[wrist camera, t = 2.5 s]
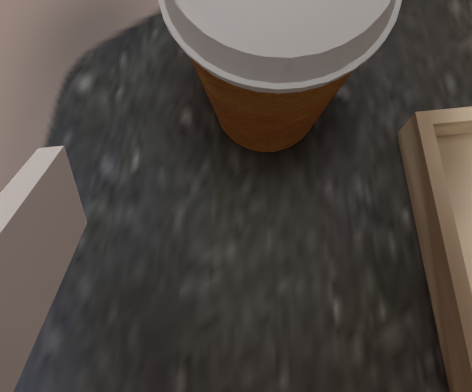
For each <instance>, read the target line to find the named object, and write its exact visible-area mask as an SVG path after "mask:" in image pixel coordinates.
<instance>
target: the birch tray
mask: <svg viewBox="0 0 472 392" xmlns="http://www.w3.org/2000/svg"><path fill="white" fill-rule="evenodd" d="M397 137H398V142H399V147H400V151H401V156H402V161H403V166H404V171H405V176H406V181H407V186H408V191H409V196H410V201H411V206H412V210H413V215H414V220H415V225H416V230H417V235H418V240H419V245H420V250H421V255H422V260H423V265H424V269H425V274H426V279H427V284H428V289H429V294H430V299H431V304H432V309H433V314H434V319H435V324H436V329H437V333H438V338H439V343H440V348H441V353H442V358H443V363H444V368H445V373H446V378H447V383H448V388H449V392H472V107H462V108H451V109H441V110H430V111H419V112H415V113H414V114H413V115H412V116H411V118H410V119H409V120H408V121H407V122H406V124H405V125H404V126H403V127H402V128H401V129H400V131H399V132H398V133H397Z"/></svg>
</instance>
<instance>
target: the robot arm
mask: <svg viewBox="0 0 472 392" xmlns="http://www.w3.org/2000/svg"><path fill="white" fill-rule="evenodd" d="M86 225H87V221H86V217H85V214H84V211H83V207H82V204H81V201H80V197H79V194H78V191H77V188H76V184H75V181H74V178H73V174H72V171H71V168H70V164H69V161H68V158H67V154H66V151H65V148H64V146H56V147H47V148H38V149H37V150H36V152H35V153H34V154H33V155H32V156H31V158H30V159H29V160H28V161H27V162H26V164H25V165H24V166H23V167H22V168H21V170H20V171H19V172H18V173H17V174H16V175H15V176H14V178H13V179H12V180H11V181H10V182H9V184H8V185H7V186H6V187H5V188H4V189H3V191H2V192H1V193H0V392H13V391H14V389H15V387H16V384H17V382H18V380H19V378H20V375H21V373H22V371H23V368H24V366H25V364H26V362H27V359H28V357H29V355H30V352H31V350H32V348H33V346H34V343H35V341H36V339H37V336H38V334H39V332H40V330H41V327H42V325H43V323H44V320H45V318H46V316H47V314H48V311H49V309H50V307H51V304H52V302H53V300H54V298H55V295H56V293H57V291H58V288H59V286H60V284H61V282H62V279H63V277H64V275H65V272H66V270H67V268H68V266H69V263H70V261H71V259H72V256H73V254H74V252H75V250H76V247H77V245H78V243H79V240H80V238H81V236H82V234H83V231H84V229H85V227H86Z"/></svg>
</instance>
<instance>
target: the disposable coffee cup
mask: <svg viewBox="0 0 472 392" xmlns="http://www.w3.org/2000/svg"><path fill="white" fill-rule="evenodd" d="M158 2H159V5H160V9H161V12H162V16H163V19H164V21H165V24H166V26H167V28H168V30H169V32H170V34H171V35H172V37H173V38H174V39H175V40H176V42H177V43H178V44H179V46H180V47H181V48H182V49H183V51H184V52H185V53H186V54H187V55H188V56H189V57H190V58H191V59H192V61H193V64H194V66H195V68H196V71H197V73H198V75H199V78H200V80H201V82H202V85H203V87H204V89H205V91H206V93H207V96H208V98H209V101H210V102H211V105H212V107H213V110H214V111H215V113H216V116H217V118H218V121H219V123H220V125H221V127H222V129H223V130H224V131H225V133H226V134H227V135H228V136H229V137H230V138H231V139H232V140H233V141H234V142H236V143H237V144H239V145H241V146H242V147H244V148H247V149H250V150H253V151H259V152H276V151H279V150H283V149H287V148H289V147H291V146H293V145H295V144H296V143H297V142H299V141H300V140H302V139H303V137H304V136H305V135H306V134H307V133H308V132H309V130H310V129H311V127H312V126H313V124H314V123H315V122H316V120H317V119H318V117H319V116H320V115H321V113H322V112H323V111H324V109H325V108H326V107H327V105H328V104H329V102H330V101H331V99H332V98H333V97H334V95H335V94H336V93H337V91H338V90H339V88H340V87H341V86H342V84H343V83H344V81H345V80H346V79H347V77H348V76H349V74H350V73H351V72H352V71H353V70H355V69H357V68H358V67H360V66H361V65H362V64H363V63H364V62H365V61H366V60H368V59H369V58H370V57H371V56H372V55H373V54H374V53H376V52H377V50H378V49H379V48H380V46H381V45H382V44H383V42H384V41H385V40H386V38H387V36H388V35H389V33H390V31H391V29H392V28H393V26H394V24H395V22H396V20H397V16H398V13H399V9H400V5H401V2H402V0H158Z"/></svg>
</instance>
